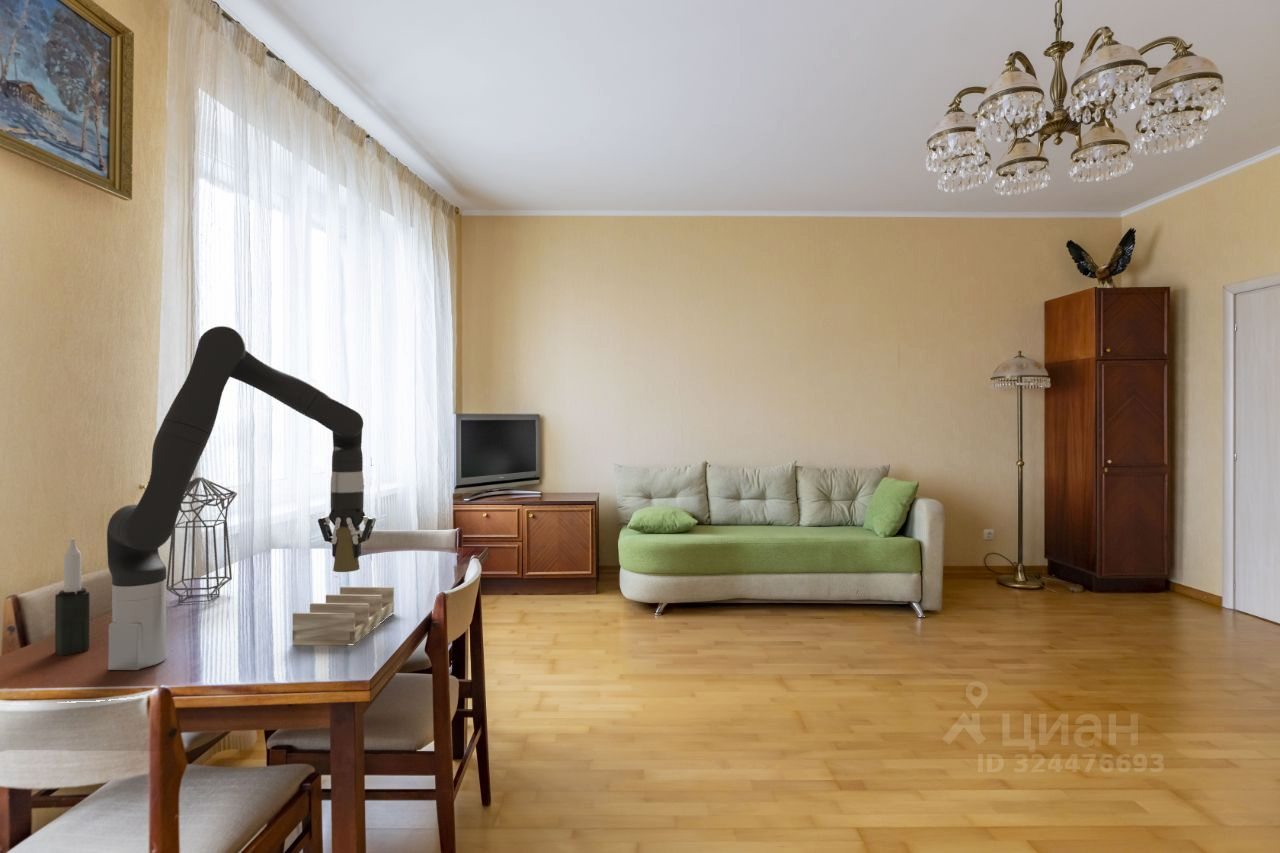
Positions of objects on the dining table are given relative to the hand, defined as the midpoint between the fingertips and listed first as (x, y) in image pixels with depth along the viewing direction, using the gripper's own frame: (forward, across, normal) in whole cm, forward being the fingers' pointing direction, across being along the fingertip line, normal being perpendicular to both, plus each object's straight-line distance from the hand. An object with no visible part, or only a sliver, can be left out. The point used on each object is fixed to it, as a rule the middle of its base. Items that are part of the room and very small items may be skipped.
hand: (346, 558), depth 168 cm
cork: (+3, 0, 0) cm, 3 cm away
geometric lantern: (+18, -53, +25) cm, 61 cm away
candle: (+18, -53, -18) cm, 59 cm away
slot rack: (+17, 0, 0) cm, 17 cm away
